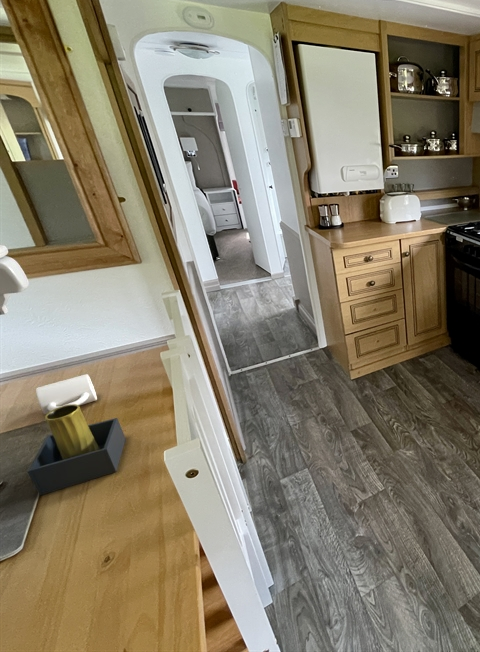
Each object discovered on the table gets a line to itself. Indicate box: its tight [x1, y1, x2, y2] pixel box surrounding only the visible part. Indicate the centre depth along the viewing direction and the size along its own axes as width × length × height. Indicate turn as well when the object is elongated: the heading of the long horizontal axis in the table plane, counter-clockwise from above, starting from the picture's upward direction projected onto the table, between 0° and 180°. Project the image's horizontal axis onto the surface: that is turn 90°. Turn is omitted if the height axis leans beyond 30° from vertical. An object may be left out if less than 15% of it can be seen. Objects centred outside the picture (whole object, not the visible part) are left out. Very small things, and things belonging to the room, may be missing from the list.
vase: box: [44, 404, 100, 460], centre depth 83 cm, size 6×6×14 cm
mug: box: [35, 373, 98, 416], centre depth 103 cm, size 12×10×8 cm
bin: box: [26, 417, 126, 496], centre depth 85 cm, size 12×12×7 cm
